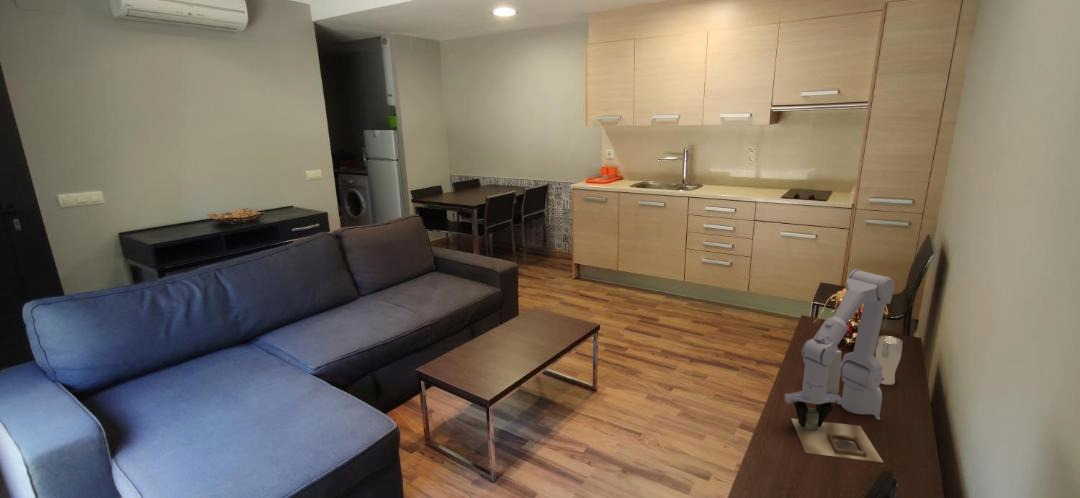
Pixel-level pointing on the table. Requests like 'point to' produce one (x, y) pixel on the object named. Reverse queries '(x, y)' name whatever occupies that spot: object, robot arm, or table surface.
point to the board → (837, 441)
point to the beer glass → (888, 357)
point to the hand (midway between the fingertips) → (809, 424)
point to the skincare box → (834, 375)
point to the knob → (811, 419)
